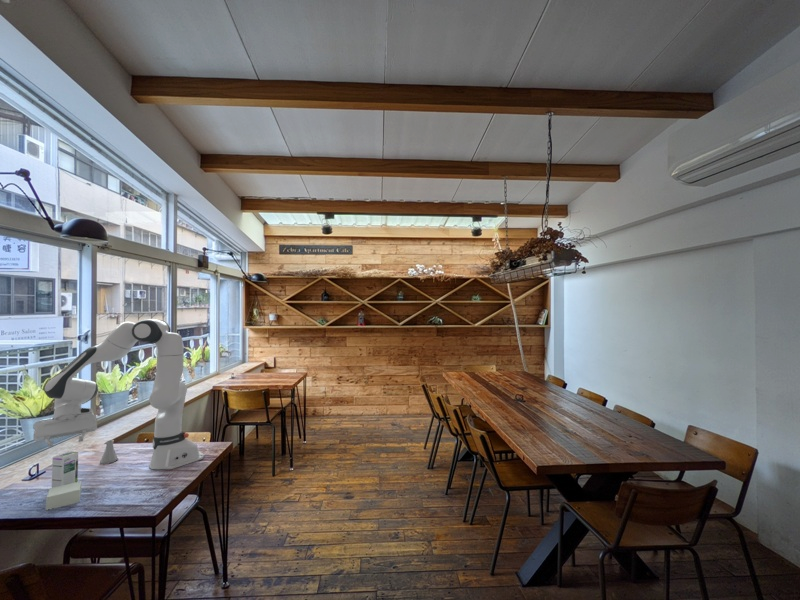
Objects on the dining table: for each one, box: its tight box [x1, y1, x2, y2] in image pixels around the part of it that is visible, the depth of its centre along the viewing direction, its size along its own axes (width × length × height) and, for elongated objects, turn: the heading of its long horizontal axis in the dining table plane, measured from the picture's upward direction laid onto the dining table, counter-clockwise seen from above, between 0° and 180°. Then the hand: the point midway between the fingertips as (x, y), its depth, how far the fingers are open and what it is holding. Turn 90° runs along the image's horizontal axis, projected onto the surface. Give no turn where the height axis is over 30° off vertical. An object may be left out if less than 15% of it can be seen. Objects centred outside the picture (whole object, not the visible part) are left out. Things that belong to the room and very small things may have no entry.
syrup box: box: [51, 451, 79, 488], centre depth 142 cm, size 6×6×14 cm
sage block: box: [45, 480, 82, 511], centre depth 133 cm, size 9×9×5 cm
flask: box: [99, 439, 119, 465], centre depth 170 cm, size 7×7×10 cm
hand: (66, 443), depth 149 cm, fingers open, 8 cm apart
